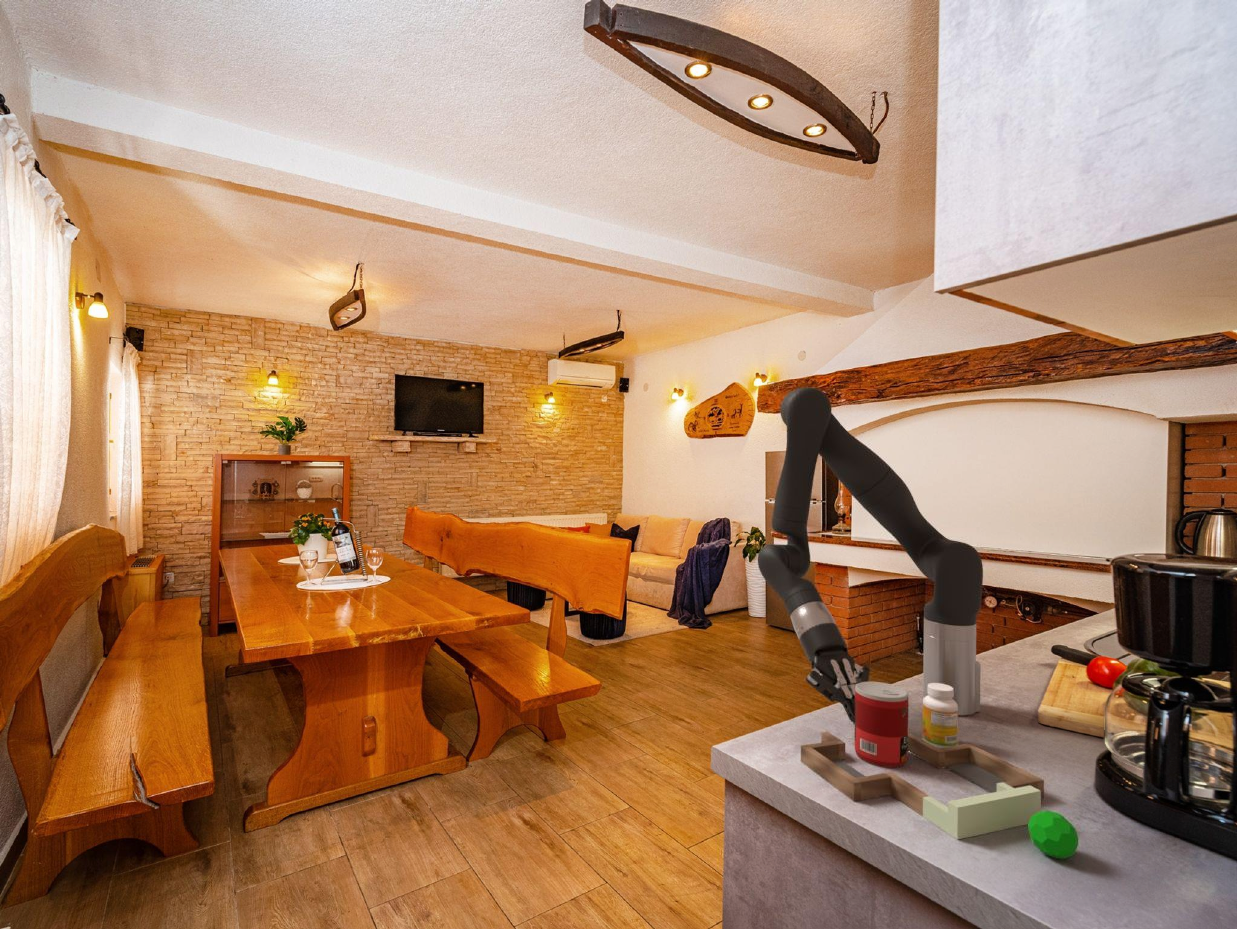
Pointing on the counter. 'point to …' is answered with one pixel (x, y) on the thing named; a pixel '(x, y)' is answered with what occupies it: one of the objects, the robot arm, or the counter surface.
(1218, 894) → the counter surface
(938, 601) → the robot arm
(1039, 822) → the polyhedron
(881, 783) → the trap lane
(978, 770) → the mats
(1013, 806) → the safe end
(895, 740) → the canned food
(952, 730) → the supplement bottle
